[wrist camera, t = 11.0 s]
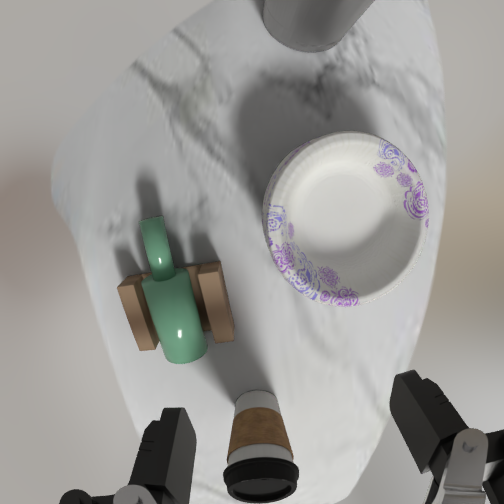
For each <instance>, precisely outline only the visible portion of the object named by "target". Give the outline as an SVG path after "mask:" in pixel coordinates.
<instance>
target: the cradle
mask: <svg viewBox="0 0 504 504" xmlns="http://www.w3.org/2000/svg"><path fill="white" fill-rule="evenodd" d="M182 268H183V269H187V270H188V272H189V276H190V280H191V284H192V288H193V293H194V297H195V301H196V304H197V308H198V312H199V316H200V320H201V324H202V327H203V331H210V330H212V333H213V337H214V340H215V343H223V342H230V341H234V322H233V318H232V313H231V309H230V304H229V299H228V295H227V290H226V286H225V281H224V276H223V271H222V267H221V262H220V261H218V262H212V263H206V264H200V265H194V266H188V267H182ZM151 274H152V273H146V274H139V275H133V276H128V277H127V278H126V279H125V280H124V281H123V282H122V283H121V284H120V285H119V286H118V287H117V289H118V292H119V295H120V298H121V301H122V304H123V307H124V310H125V313H126V316H127V319H128V321H129V324H130V327H131V330H132V332H133V335H134V338H135V340H136V343H137V345H138V348H139V350H140V351H145V350H155V349H156V347H157V345H158V343H159V338H158V335H157V332H156V329H155V326H154V323H153V320H152V317H151V314H150V311H149V307H148V304H147V301H146V298H145V294H144V291H143V288H142V284H141V282H142V280H143V279H144V278H146V277H147V276H149V275H151Z"/></svg>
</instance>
